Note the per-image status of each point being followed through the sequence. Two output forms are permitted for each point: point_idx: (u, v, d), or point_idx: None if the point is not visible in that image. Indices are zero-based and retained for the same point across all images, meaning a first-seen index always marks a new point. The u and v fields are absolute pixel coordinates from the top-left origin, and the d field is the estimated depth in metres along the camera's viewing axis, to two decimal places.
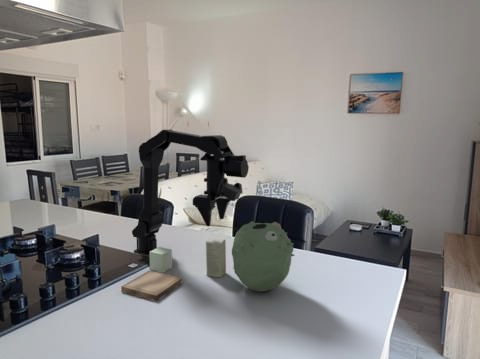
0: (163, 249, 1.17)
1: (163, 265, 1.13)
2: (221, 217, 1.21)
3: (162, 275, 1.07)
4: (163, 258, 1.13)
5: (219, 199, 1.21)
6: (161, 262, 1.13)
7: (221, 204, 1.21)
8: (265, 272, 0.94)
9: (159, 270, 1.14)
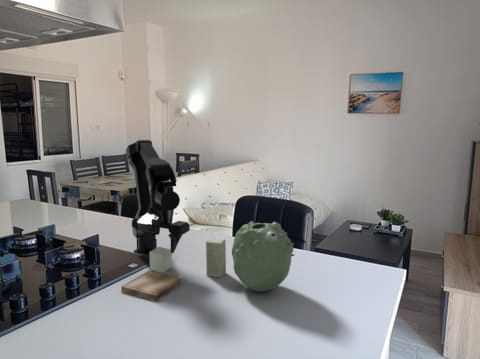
0: (163, 249, 1.17)
1: (163, 265, 1.13)
2: None
3: (162, 275, 1.07)
4: (163, 258, 1.13)
5: None
6: (161, 262, 1.13)
7: None
8: (265, 272, 0.94)
9: (159, 270, 1.14)
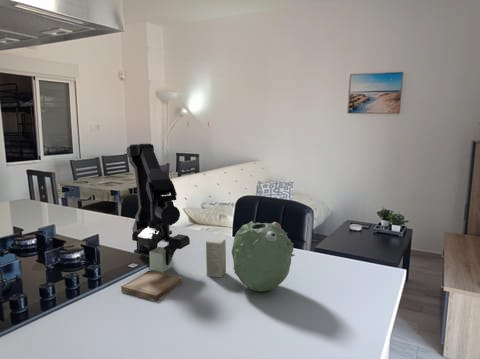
0: (163, 249, 1.17)
1: (163, 265, 1.13)
2: None
3: (162, 275, 1.07)
4: (163, 258, 1.13)
5: None
6: (161, 262, 1.13)
7: None
8: (265, 272, 0.94)
9: (159, 270, 1.14)
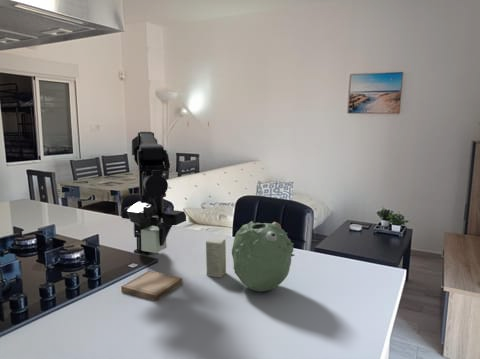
0: (156, 227, 1.04)
1: (157, 245, 1.01)
2: None
3: (162, 275, 1.07)
4: (157, 237, 1.00)
5: None
6: (154, 241, 1.00)
7: None
8: (265, 272, 0.94)
9: (152, 250, 1.01)
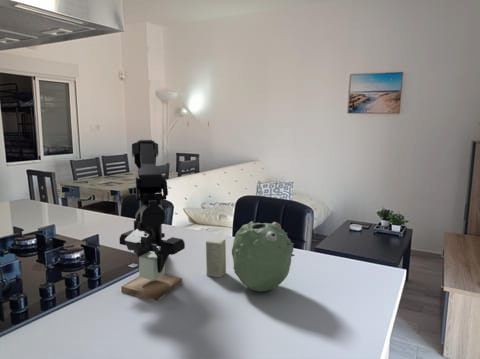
0: (155, 254, 1.03)
1: (155, 272, 1.00)
2: None
3: (162, 275, 1.07)
4: (155, 264, 0.99)
5: None
6: (152, 269, 0.99)
7: None
8: (265, 272, 0.94)
9: (150, 278, 1.00)
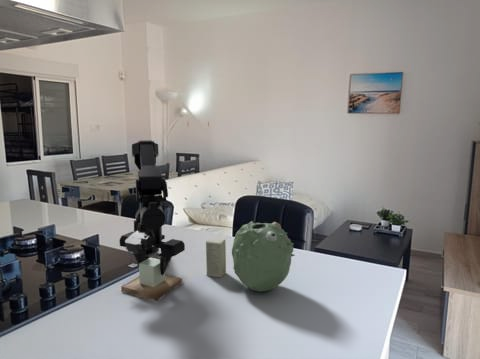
0: (155, 260, 1.03)
1: (155, 279, 1.00)
2: None
3: None
4: (155, 271, 1.00)
5: None
6: (152, 275, 0.99)
7: None
8: (265, 272, 0.94)
9: (150, 284, 1.00)
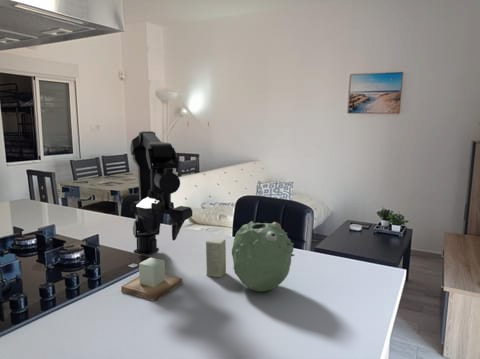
0: (155, 260, 1.03)
1: (155, 279, 1.00)
2: None
3: None
4: (155, 271, 1.00)
5: None
6: (152, 275, 0.99)
7: None
8: (265, 272, 0.94)
9: (150, 284, 1.00)
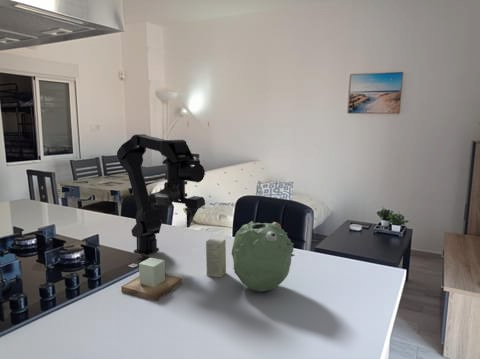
0: (155, 260, 1.03)
1: (155, 279, 1.00)
2: None
3: None
4: (155, 271, 1.00)
5: None
6: (152, 275, 0.99)
7: None
8: (265, 272, 0.94)
9: (150, 284, 1.00)
